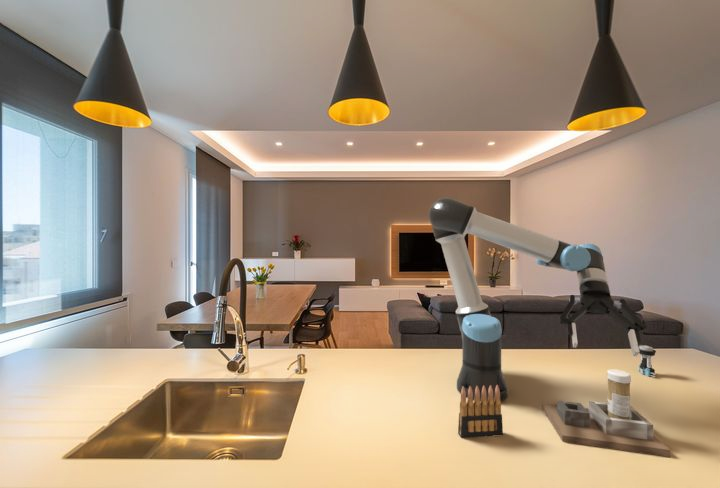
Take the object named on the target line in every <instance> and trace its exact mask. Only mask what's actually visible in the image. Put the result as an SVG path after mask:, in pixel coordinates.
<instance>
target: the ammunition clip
mask: <svg viewBox="0 0 720 488" xmlns="http://www.w3.org/2000/svg"><path fill="white" fill-rule="evenodd" d="M459 402H460V403H459V413H458V425H457V426H458V428H457V429H458V430H457V431H458V432H457V434H458V435H459V437H460V438H461V439H465V438H466V439H467V438H481V437H482V438H483V437H485V436H486V437H494V436H493V435H502V436H504V434H503V432H504V430H503V428H504V427H503V414H502V401H500V390H499V386H498V385H497V386H496V388H495V399H493V389H492V386H491V385H490V387H489V390H488V401H487V394H486V388H485V386H483V388H482V394H481V401H480V392H479V388H478V386H476V389H475V398H474V399H473V392H472V388H471V386H470V387H469V390H468V397H466V392H465V388H464V386H463V387H462V390H461V393H460V401H459ZM486 437H485V438H486Z"/></svg>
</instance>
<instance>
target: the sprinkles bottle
mask: <svg viewBox="0 0 720 488" xmlns="http://www.w3.org/2000/svg"><path fill="white" fill-rule="evenodd" d="M606 378H607V403H608V417H610V418H618V419H627V420H630V406H631V393H630V392H631V389H630V388H631V387H630V386H631V385H630V384H631V382H632V376H631V374H630V373H628V372H627V371H624V370H621V369H615V368H614V369H612V368H611V369H610V368H609V369H607V373H606Z"/></svg>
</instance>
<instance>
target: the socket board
mask: <svg viewBox="0 0 720 488" xmlns="http://www.w3.org/2000/svg"><path fill="white" fill-rule="evenodd" d="M541 409H542V411H543V413H544V414H545V416H546V417H547V419H548V420H549V422H550V423H551V426H552V427H553V429H554V430H555V432H556V434H557V435H558V437H559V439H560V440H561V442H563V443H568V444H569V443H572V444H576V445H583V446H591V447H598V448H603V449H604V448H605V449H612V450H618V451H626V452H634V453H641V454H647V455H655V456H660V457H669V458H670V457H671V449H670V448H668V447H667V445H665V444H664V443H663V442H662V441H661V440H659V438H657V437H656V435H654V424H652V422H650V421H649V420H648V419H647V418H645V417H644V416H643V415H642V414H641V413H639V411H638V410H636V409H635V408H634V407H632V406H631V405H630V420H627V419H618V418H610V417H608V402H602V401H601V402H599V401H593V400H591V401H590V400H588V408H587V407H584V405H583V404H582V403H581V402H574V401H564V400H557V404H553V403H544V402H543V403H542V404H541Z"/></svg>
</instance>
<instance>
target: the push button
mask: <svg viewBox="0 0 720 488" xmlns="http://www.w3.org/2000/svg"><path fill="white" fill-rule="evenodd" d="M638 347H639V351H640V352H639V355H640V364H638V372H639V373H640V374H642V375H644V374H645V376H647V377H653V378H656V376H655V375H657V374H656V373H655V372H656V370H655V369H654V368H653V366H652V357H653V356H655V355H656V353H657V350H655V349H653V346H649V345H644V344H643V345H642V344H639V346H638Z"/></svg>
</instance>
